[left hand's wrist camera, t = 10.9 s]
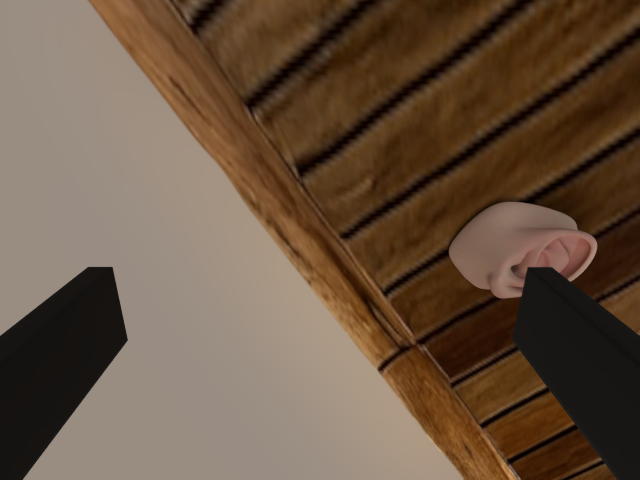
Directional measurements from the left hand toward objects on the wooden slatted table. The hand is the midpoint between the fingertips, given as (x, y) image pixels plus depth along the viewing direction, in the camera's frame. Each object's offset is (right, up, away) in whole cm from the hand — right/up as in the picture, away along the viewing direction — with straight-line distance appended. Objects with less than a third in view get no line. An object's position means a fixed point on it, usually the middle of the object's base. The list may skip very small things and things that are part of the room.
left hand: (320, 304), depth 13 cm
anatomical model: (+22, +1, +32) cm, 39 cm away
